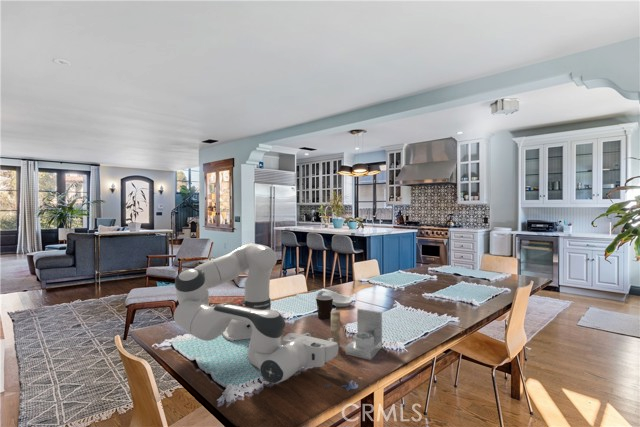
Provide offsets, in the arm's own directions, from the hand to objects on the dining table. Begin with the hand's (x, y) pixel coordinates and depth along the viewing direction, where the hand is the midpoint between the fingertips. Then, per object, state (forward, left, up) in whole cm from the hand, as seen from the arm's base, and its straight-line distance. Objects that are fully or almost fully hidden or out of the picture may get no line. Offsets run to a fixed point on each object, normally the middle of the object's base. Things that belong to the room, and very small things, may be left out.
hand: (320, 337), depth 125 cm
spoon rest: (+42, +57, -9) cm, 71 cm away
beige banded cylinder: (+11, +6, -8) cm, 15 cm away
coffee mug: (+27, +40, -8) cm, 49 cm away
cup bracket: (+18, -3, -8) cm, 20 cm away
